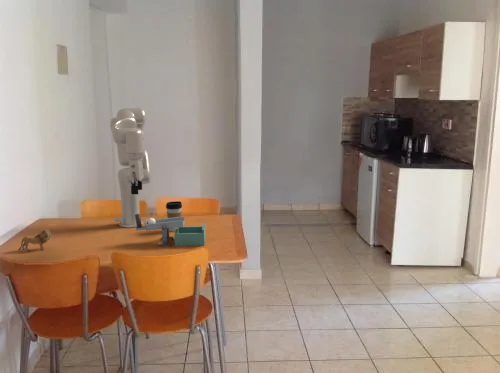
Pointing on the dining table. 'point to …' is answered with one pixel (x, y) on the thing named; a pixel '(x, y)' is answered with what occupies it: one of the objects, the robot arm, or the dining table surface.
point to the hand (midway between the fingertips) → (136, 191)
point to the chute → (159, 223)
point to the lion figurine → (36, 240)
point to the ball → (151, 221)
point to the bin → (190, 236)
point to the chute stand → (165, 237)
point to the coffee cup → (173, 211)
